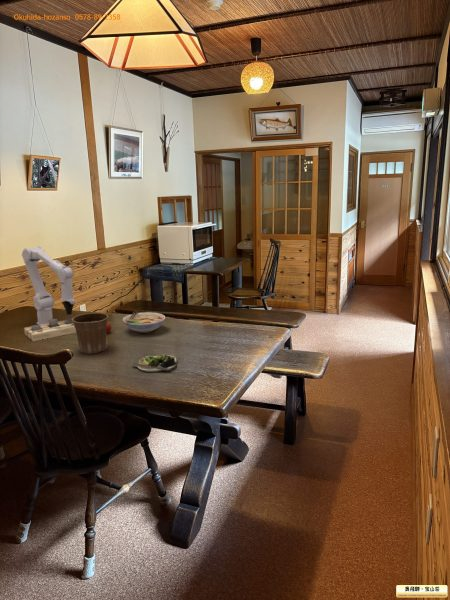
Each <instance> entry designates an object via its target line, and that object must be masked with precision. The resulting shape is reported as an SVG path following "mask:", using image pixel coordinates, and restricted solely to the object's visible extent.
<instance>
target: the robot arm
mask: <svg viewBox="0 0 450 600" xmlns="http://www.w3.org/2000/svg"><path fill="white" fill-rule="evenodd" d="M21 256H22V259H23V262H24V264H25V268H26V270H27V273H28V277H29V279H30V281H31V284H32V287H33V290H34V293H35V295H34V296H33V297H32V300H33V306H34V308H35V309H36V311H37V312H36V315H37V322H36V325H43V324H48V323H49V320H50V319H54V318H53V307H54V305H55V299H54V297H52V294H51V293H50V292H48V291H47V290H46V287H45V285H44V283H43V279H42V277H41V273H40V271H39V269H38V266H37V265H38V263H39V262H40V261H42V262H44V263H45V264H47V265H48V266H49V269H50V270H51V271H53V272H54V273H55V274H56V275H57V277H58V279H59V282H60V289H61V290H60V291H61V296H60V298H59V300H60V301H61V304H62V305H63V307H64V310H65V313H66V315H67V316H69V315H72V313H73V307H74V306H75V304H76V300H75V298H74V290H73V280H72V279H73V277H74V275H75V273H74V270H73V268H72V267H70V266H69V267H67V266H65V265H64V264H63V263H61V261H60V260H57V259H55V260H54V259H52V257H51V256H49V255H48V254H47V253H46V252H45V249H44V248H42V247H41V246H35V247H26V248H24V249H23V250H22V253H21Z"/></svg>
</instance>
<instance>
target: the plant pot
mask: <svg viewBox="0 0 450 600" xmlns="http://www.w3.org/2000/svg"><path fill="white" fill-rule="evenodd" d="M108 318H109V315H108V314H106V313H101V312H92V313H90V312H89V313H83V314H78V315H76V316H73V318H71V319H72V321H73V322H74V327H75V329H76V333H75V334H76V336H77V337H76V338H77V342H78V346H79V347H78V348H79V351H80V353H82V354H85V355H86V354H87V355H92V354H93V355H94V354H97V353H98V354H99V353H100V352H104V351H105V350H106V349H107V333H106V327H107V323H108Z"/></svg>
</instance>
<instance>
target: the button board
mask: <svg viewBox="0 0 450 600" xmlns="http://www.w3.org/2000/svg"><path fill="white" fill-rule="evenodd" d="M40 326H41V330H36V331H32V328H31V326H27V327H24V328H23V333H24V335H25V336H26V337H27V338H29V339H30V340H31V341H32V342H37V341H43V340H46V339H47V338H48V339H51V338H57V337H61V336H66V335H72V334H77V333H76V329H75V327H74V323H73V324H68V325H67V324H66V319H65V320H58V326H57V327H52V328H50V327H49V323H48V324H43V325H40ZM42 339H43V340H42Z"/></svg>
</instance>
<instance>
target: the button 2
mask: <svg viewBox="0 0 450 600" xmlns="http://www.w3.org/2000/svg"><path fill="white" fill-rule="evenodd" d="M58 322H59V320H58V319H57V318H53V319H50V320H49V327H50V328H52V327H57V326H58Z"/></svg>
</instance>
